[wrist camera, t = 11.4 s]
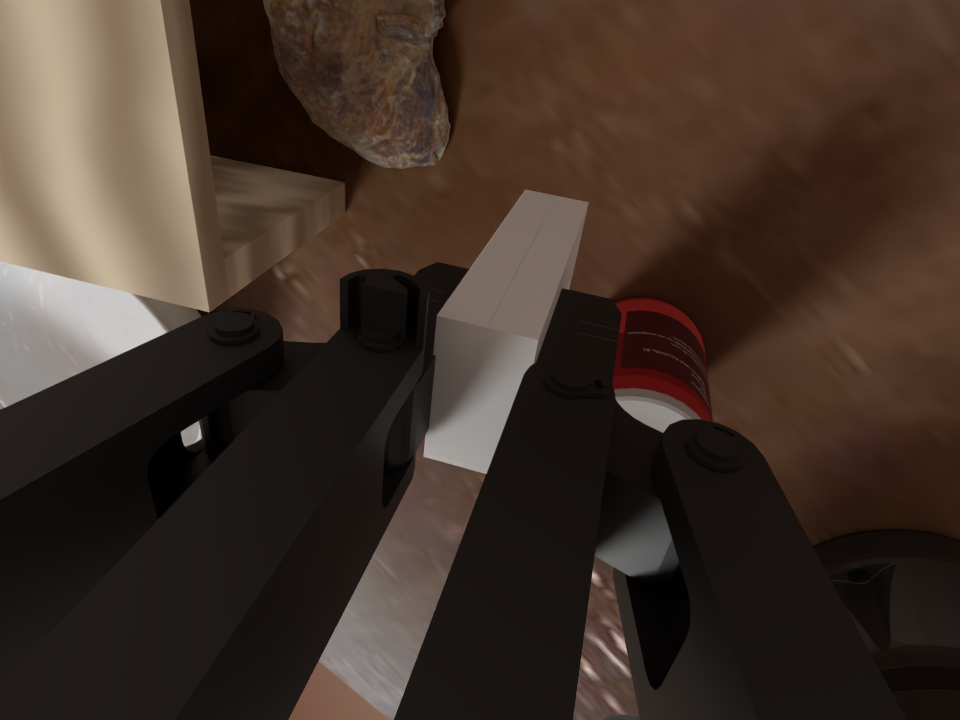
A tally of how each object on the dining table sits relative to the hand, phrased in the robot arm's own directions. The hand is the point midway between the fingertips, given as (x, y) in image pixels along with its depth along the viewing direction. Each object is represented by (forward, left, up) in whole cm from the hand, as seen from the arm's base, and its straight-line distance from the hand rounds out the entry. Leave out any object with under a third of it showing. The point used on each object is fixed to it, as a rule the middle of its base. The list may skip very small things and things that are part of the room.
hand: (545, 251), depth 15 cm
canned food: (-5, +14, -21) cm, 25 cm away
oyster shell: (+13, 0, -21) cm, 25 cm away
